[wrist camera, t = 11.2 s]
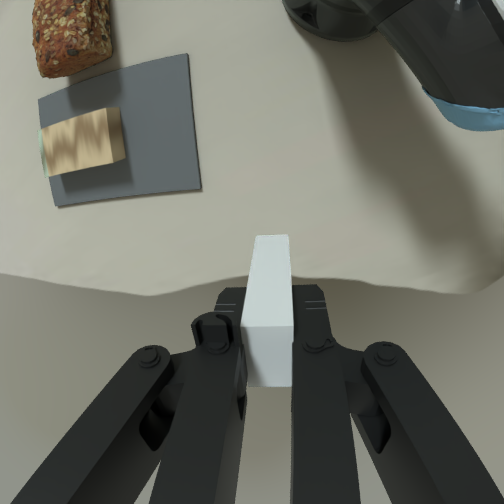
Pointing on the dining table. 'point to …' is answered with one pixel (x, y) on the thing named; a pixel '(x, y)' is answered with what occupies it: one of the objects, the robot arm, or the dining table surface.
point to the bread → (70, 35)
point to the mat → (132, 131)
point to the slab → (82, 142)
